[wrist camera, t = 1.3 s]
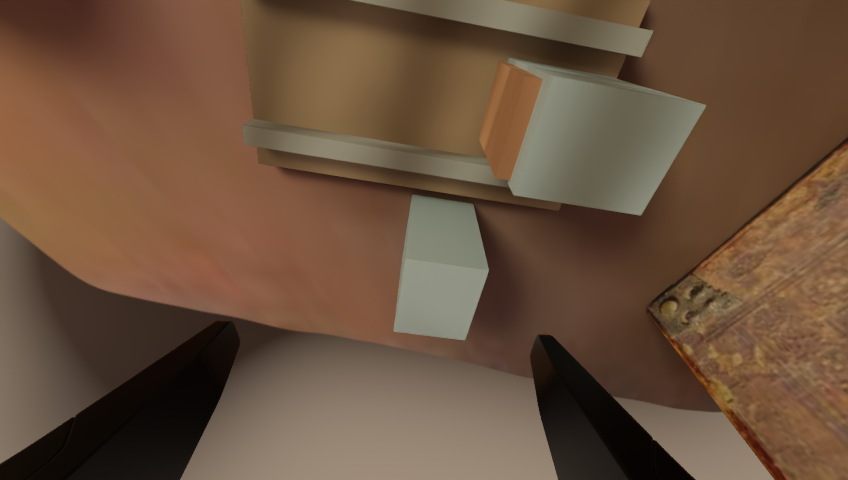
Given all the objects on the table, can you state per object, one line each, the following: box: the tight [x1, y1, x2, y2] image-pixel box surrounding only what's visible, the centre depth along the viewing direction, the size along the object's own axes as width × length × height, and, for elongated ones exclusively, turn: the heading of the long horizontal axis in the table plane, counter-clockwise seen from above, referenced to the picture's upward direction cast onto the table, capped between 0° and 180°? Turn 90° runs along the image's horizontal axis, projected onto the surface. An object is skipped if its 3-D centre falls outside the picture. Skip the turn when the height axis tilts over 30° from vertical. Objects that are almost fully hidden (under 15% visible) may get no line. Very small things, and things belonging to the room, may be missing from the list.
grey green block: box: [394, 194, 489, 340], centre depth 20 cm, size 6×4×7 cm
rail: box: [240, 0, 706, 215], centre depth 14 cm, size 18×11×8 cm, turn 81°
